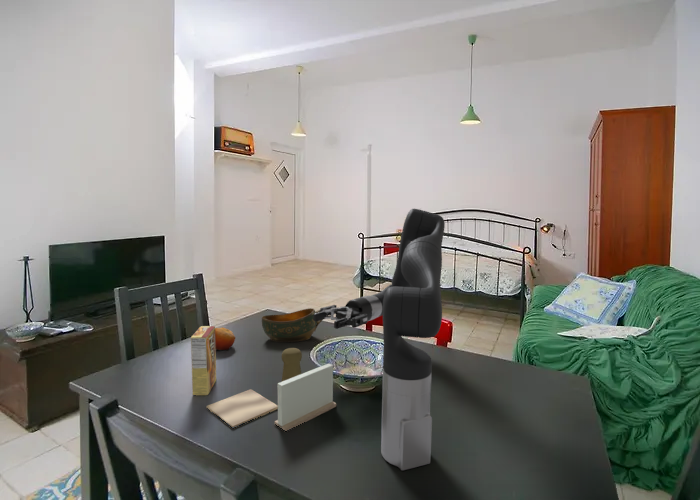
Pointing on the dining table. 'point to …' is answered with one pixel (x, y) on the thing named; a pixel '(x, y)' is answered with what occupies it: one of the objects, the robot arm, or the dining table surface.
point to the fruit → (224, 338)
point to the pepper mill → (291, 363)
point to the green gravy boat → (290, 326)
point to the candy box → (203, 360)
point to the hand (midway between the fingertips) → (324, 321)
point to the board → (242, 407)
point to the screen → (305, 397)
